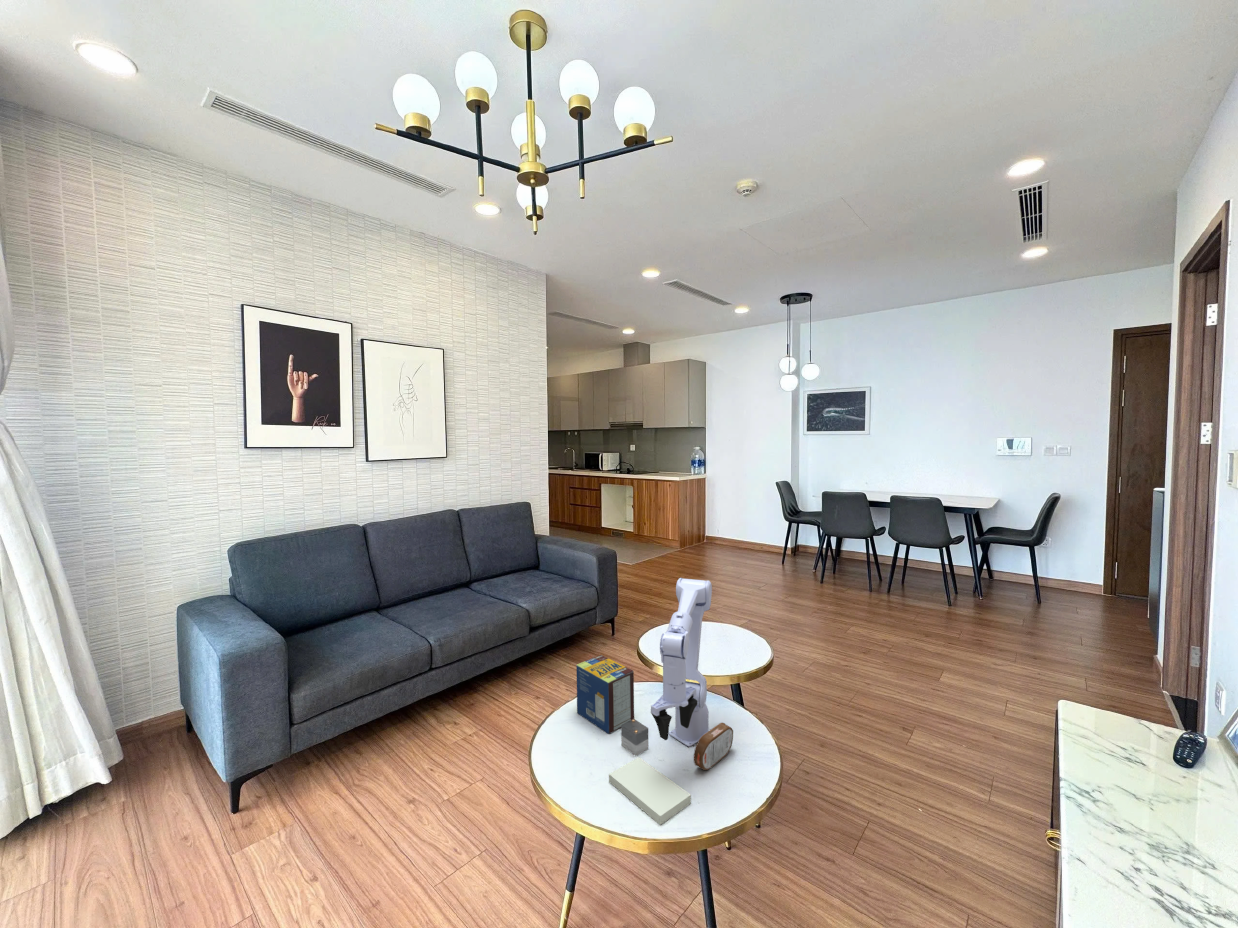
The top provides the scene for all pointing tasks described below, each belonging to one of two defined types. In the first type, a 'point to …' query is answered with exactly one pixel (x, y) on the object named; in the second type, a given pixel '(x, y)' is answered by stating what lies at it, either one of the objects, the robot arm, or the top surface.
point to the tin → (713, 746)
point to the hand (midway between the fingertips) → (674, 731)
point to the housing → (634, 737)
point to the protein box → (605, 693)
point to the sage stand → (650, 790)
